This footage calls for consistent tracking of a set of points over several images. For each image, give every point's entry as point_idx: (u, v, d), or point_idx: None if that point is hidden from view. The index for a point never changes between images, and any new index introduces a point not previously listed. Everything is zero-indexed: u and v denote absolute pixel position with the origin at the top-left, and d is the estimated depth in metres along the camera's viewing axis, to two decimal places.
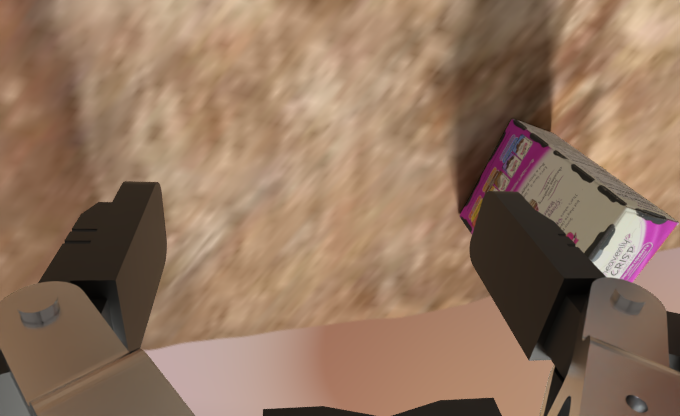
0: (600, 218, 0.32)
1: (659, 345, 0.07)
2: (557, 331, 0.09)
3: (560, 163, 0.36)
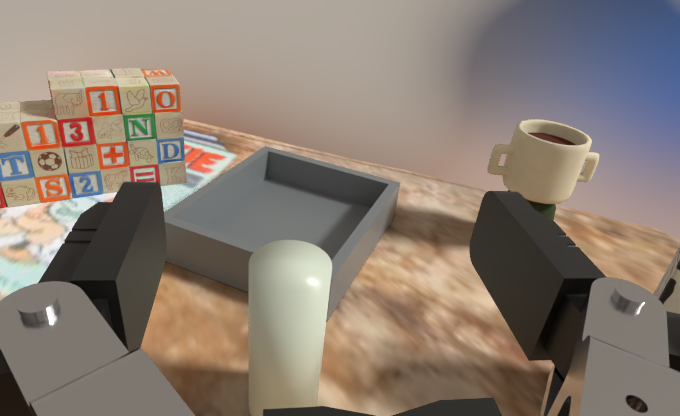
0: None
1: (659, 345, 0.07)
2: (557, 331, 0.09)
3: None
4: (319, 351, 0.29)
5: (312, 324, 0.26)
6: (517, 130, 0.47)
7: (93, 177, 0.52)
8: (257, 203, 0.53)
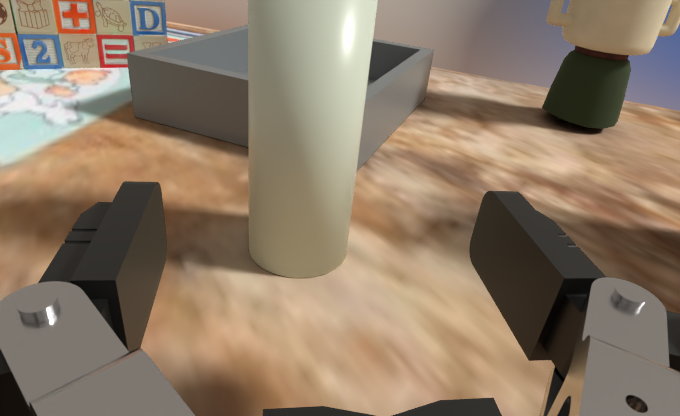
0: None
1: (659, 345, 0.07)
2: (557, 331, 0.09)
3: None
4: (356, 131, 0.19)
5: (350, 60, 0.17)
6: None
7: (49, 43, 0.42)
8: None
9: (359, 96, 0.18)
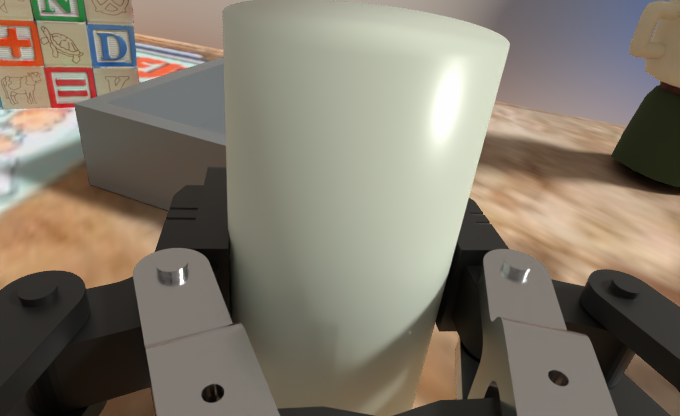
0: None
1: (532, 307, 0.08)
2: (460, 301, 0.10)
3: None
4: (433, 325, 0.10)
5: (441, 225, 0.08)
6: None
7: None
8: None
9: (445, 274, 0.09)
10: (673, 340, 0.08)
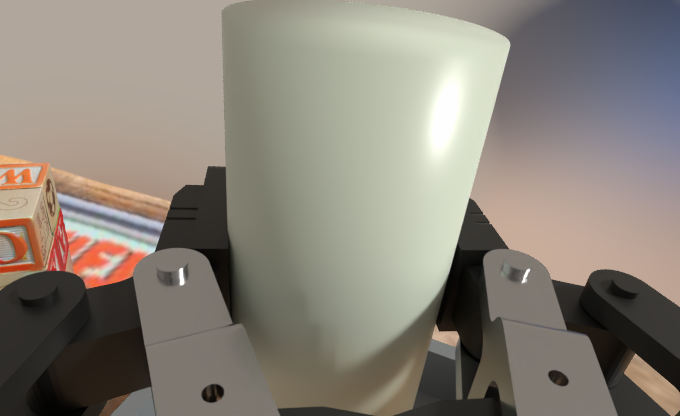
0: None
1: (532, 307, 0.08)
2: (460, 301, 0.10)
3: None
4: (433, 326, 0.10)
5: (441, 225, 0.08)
6: None
7: None
8: None
9: (446, 274, 0.09)
10: (673, 340, 0.08)
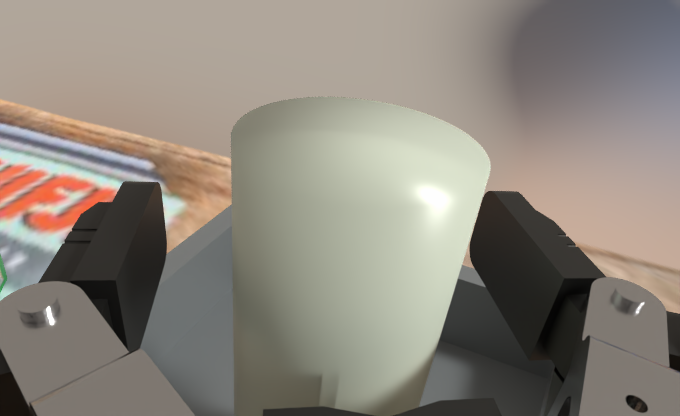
0: None
1: (659, 345, 0.07)
2: (557, 331, 0.09)
3: None
4: (421, 396, 0.11)
5: (427, 325, 0.09)
6: None
7: None
8: (213, 373, 0.18)
9: (432, 356, 0.10)
10: None
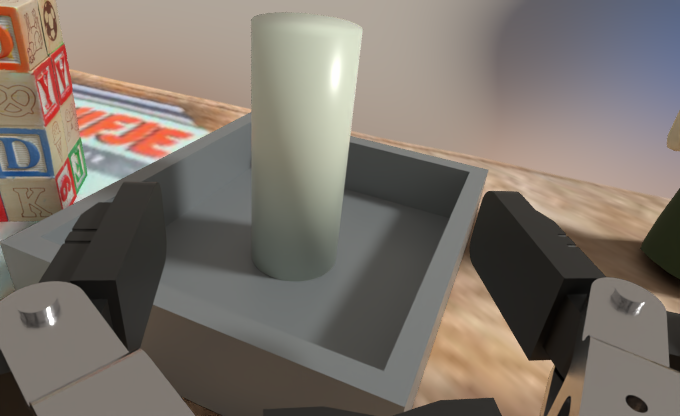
0: None
1: (659, 345, 0.07)
2: (557, 331, 0.09)
3: None
4: (342, 160, 0.22)
5: (335, 104, 0.20)
6: None
7: None
8: (235, 207, 0.30)
9: (344, 131, 0.21)
10: None
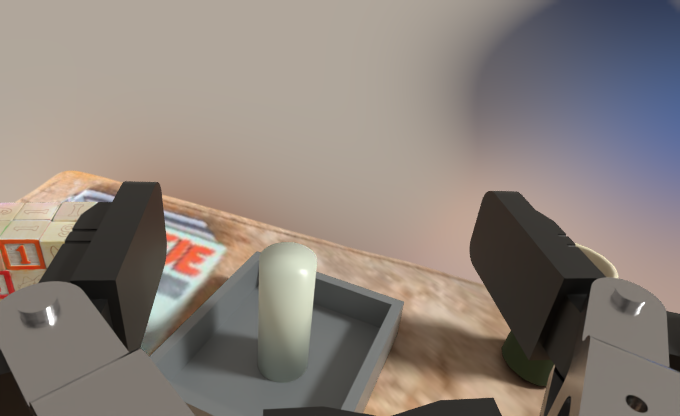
0: None
1: (659, 345, 0.07)
2: (557, 331, 0.09)
3: None
4: (308, 321, 0.40)
5: (302, 301, 0.38)
6: None
7: None
8: (247, 324, 0.48)
9: (308, 309, 0.39)
10: None
